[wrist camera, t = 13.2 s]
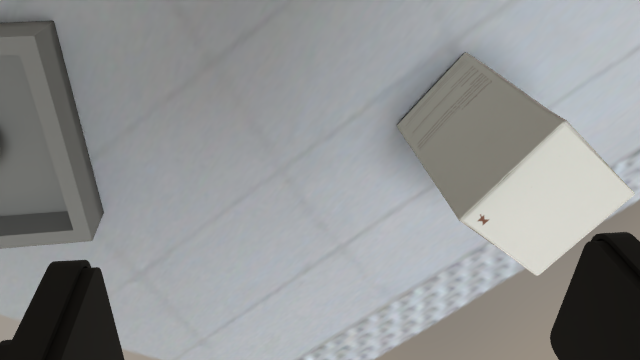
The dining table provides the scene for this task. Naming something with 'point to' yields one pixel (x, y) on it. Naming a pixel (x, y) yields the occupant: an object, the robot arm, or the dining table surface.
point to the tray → (41, 144)
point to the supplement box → (510, 165)
